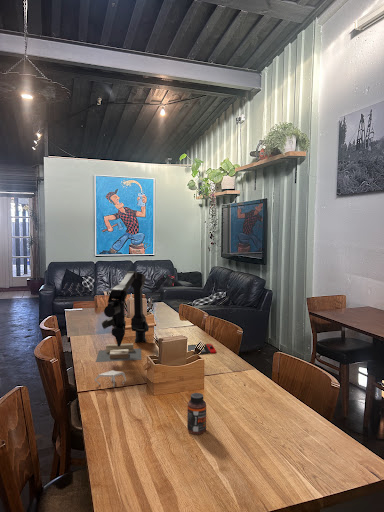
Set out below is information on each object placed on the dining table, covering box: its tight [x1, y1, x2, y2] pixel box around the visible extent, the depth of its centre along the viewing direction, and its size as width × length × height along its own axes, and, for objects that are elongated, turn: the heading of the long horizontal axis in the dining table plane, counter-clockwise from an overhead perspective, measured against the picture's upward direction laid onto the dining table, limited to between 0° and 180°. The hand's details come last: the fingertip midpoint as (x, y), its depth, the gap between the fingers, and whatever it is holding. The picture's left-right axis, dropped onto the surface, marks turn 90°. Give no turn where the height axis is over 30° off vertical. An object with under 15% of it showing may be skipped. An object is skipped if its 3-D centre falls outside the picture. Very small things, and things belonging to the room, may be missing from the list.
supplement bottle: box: [186, 392, 207, 435], centre depth 116 cm, size 6×6×11 cm
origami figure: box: [94, 369, 127, 388], centre depth 152 cm, size 12×8×5 cm
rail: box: [105, 342, 134, 353], centre depth 194 cm, size 3×14×4 cm, turn 99°
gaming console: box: [187, 343, 217, 355], centre depth 193 cm, size 29×4×10 cm
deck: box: [110, 349, 128, 359], centre depth 186 cm, size 6×9×2 cm, turn 99°
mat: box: [95, 348, 142, 363], centre depth 188 cm, size 18×22×1 cm
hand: (119, 343), depth 186 cm, fingers open, 9 cm apart
